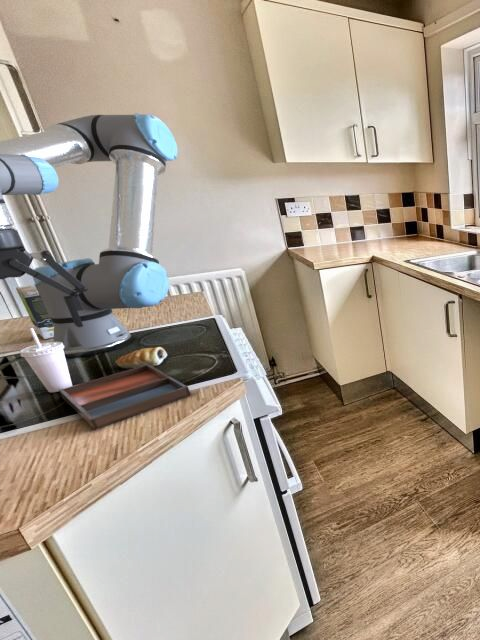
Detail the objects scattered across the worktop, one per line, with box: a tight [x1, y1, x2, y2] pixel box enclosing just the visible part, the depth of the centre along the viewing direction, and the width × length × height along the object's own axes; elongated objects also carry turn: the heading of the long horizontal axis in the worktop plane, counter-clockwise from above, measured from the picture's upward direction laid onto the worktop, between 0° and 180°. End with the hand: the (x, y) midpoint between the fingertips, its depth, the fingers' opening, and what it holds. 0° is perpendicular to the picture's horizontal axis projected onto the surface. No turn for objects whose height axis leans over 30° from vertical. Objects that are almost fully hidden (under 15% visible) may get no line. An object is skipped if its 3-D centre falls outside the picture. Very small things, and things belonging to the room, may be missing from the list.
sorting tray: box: [59, 364, 191, 430], centre depth 86 cm, size 22×15×2 cm
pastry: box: [114, 346, 168, 369], centre depth 102 cm, size 9×7×4 cm
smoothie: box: [19, 327, 73, 393], centre depth 89 cm, size 6×6×14 cm
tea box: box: [15, 284, 54, 340], centre depth 126 cm, size 15×10×15 cm, turn 144°
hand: (34, 335), depth 86 cm, fingers open, 13 cm apart
